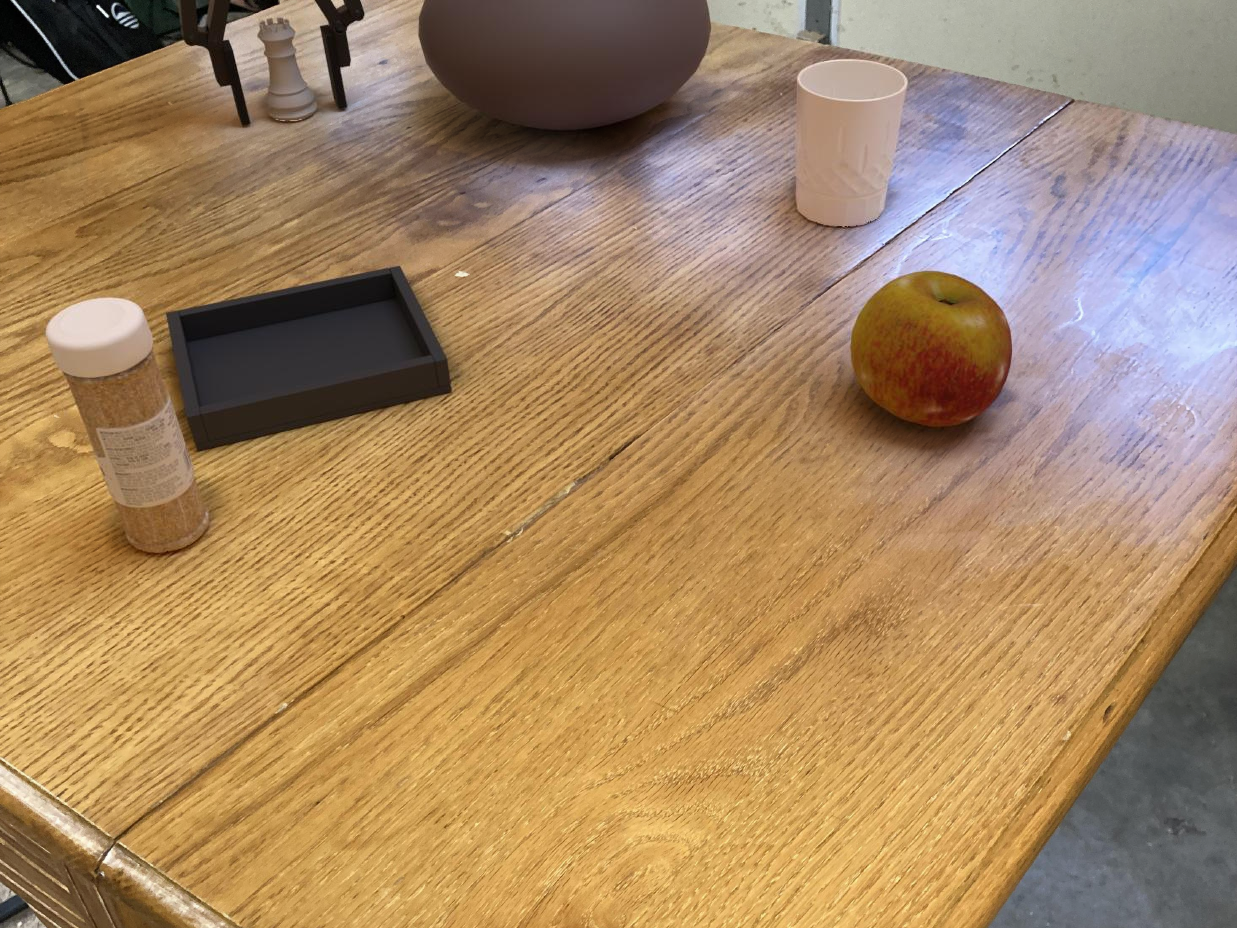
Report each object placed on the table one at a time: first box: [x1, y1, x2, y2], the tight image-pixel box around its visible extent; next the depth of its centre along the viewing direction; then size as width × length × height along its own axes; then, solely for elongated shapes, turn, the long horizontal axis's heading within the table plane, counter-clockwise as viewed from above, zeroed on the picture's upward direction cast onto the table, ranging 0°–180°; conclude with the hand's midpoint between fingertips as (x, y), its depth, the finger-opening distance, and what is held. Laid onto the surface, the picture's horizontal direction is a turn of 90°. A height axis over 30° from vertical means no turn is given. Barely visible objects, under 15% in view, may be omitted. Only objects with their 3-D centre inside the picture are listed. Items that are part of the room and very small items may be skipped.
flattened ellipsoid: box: [417, 0, 712, 131], centre depth 104 cm, size 25×25×15 cm
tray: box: [165, 265, 453, 452], centre depth 78 cm, size 16×13×2 cm
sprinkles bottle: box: [45, 297, 211, 554], centre depth 62 cm, size 5×5×13 cm
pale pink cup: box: [794, 58, 909, 228], centre depth 90 cm, size 8×8×10 cm
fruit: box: [849, 270, 1013, 428], centre depth 71 cm, size 10×9×8 cm
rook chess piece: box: [256, 17, 318, 121], centre depth 107 cm, size 4×4×8 cm
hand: (292, 111), depth 109 cm, fingers open, 8 cm apart
